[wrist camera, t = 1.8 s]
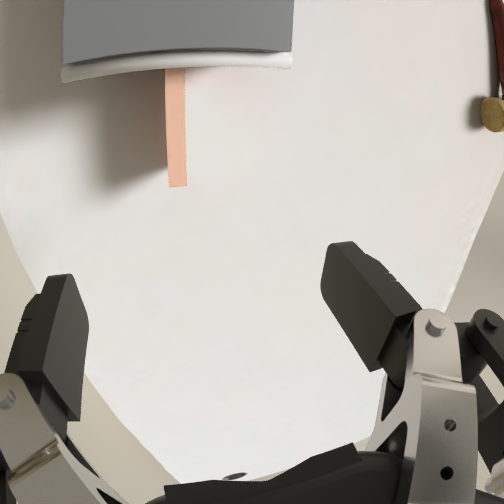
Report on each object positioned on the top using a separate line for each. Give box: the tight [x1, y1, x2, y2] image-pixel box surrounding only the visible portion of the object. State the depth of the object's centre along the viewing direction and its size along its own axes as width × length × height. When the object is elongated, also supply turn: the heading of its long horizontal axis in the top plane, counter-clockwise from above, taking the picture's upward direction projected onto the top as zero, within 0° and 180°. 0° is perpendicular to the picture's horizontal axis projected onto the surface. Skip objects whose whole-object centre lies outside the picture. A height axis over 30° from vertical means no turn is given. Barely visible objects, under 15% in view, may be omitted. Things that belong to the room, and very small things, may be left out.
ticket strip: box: [165, 50, 187, 187], centre depth 16 cm, size 23×1×5 cm, turn 178°
